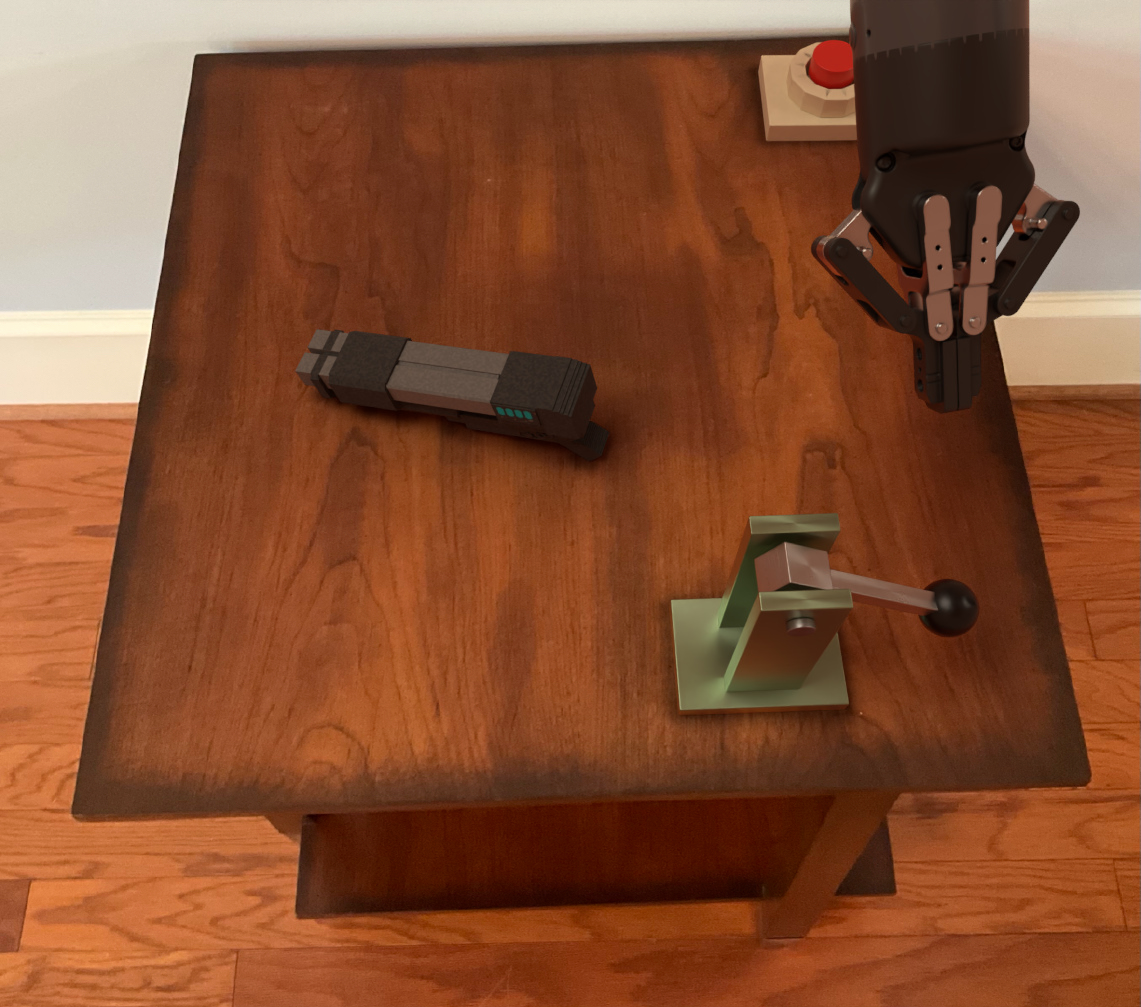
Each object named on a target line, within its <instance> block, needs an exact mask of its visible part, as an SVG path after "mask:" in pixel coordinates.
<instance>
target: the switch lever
mask: <svg viewBox="0 0 1141 1007" xmlns="http://www.w3.org/2000/svg"><path fill="white" fill-rule="evenodd" d="M755 569H756V577H757V585H758V592H768V591H796V590H824V589H850V590H851V595H852V601H853V603H859V604H863V605H869V606H872V607H873V606H874V607H877V608H878V607H879V608H883V609H888V610H892V611H897V612H902V613H907V614H911V615H912V614H913V615H917V616H918V619H919V621H920V623H921V624H922V626H923V627H924V628H925V629H926V630H928V631H929V632H930V633H932V634H933V635H936V636H938V637H941V638H942V637H943V638H957V637H960V636H962V635H965V634H966V633H968V632H969V631H970V630H971V629H972V628H973V627H974V626H975V624H976V623H977V621H978V618H979V615H980V604H979V599H978V597H977V596H976V594H975V591H973V589H972V588H970V586H969V585H967V584H966V583H964V582H962V581H960V580H957V579H953V578H941V579H936V580H933V581H932V582H930V583H929V584H928V585H926V586H925V587H924V588H923V589H922V588H919V587H913V586H908V585H906V584H905V585H904V584H900V583H896V582H892V581H886V580H883V579H878V578H873V577H868V576H864V575H860V574H855V573H850V572H846V571H841V570H837V569H833V568H831V565H830V559H829V554H828V552H827V551H823V550H819V549H815V548H810V547H806V546H802V545H798V544H793V543H789V542H783V543H781V544H780V545H778V546H776V547H774V548H773V549H771V550H769V551H767V552H766V553H764V554H762V555H760V556H759V557H757V558H755Z"/></svg>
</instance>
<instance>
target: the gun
mask: <svg viewBox="0 0 1141 1007" xmlns="http://www.w3.org/2000/svg"><path fill="white" fill-rule="evenodd" d="M307 349H308V350H309V352H306V351H304V353H303V355H302V356H301V359H300V361H299V363H298V365H297V366H296V368H295V371H294V372H295V373H296V375H297V376H298V377H299V379H300V380H301V382H302V383H303V384H304V386H309V387H315V389H316V390H317V391H318V393H319V394H320V396H321V397H322V398H325V399H333V398H336V397H337V399H338V400H339V402H340V403H345V404H351V405H356V406H357V405H358V406H363V407H369V408H370V407H371V408H376V409H383V410H389V411H396V412H397V411H405V412H414V413H421V414H427V415H433V416H440V417H445V418H446V419H447V421H449V422H455V423H460V424H465V427H466V429H469V430H475V431H480V432H488V433H494V434H500V435H505V436H506V435H507V436H512V437H519V438H524V439H525V438H526V439H532V440H537V441H543V442H544V441H545V442H549V443H550V442H551V443H556V444H560V445H561V446H563V447H564V448H566V449H568V450H569V451H571V452H572V453H574V454H576V455H577V456H579V457H581V458H582V459H583V460H585V461H588V462H592V461H593V460H596V459H598V458H599V457H602V456H603V452H604V450H605V447H606V445H607V441H608V437H609V435H610V431H608V429H606V428H604V427H602V426H601V425H599V424H597V423H596V422H595V421H592V420H591V419H592V416H593V412H594V410H595V407H596V404H595V401H594V399H595V396H596V393H597V390H598V385H597V382H596V379H595V375H594V373H593V370H592V366H591V364H590V363H587V362H583V361H581V360H579V359H573V358H572V357H567V356H560V355H559V356H558V355H547V354H539V353H532V352H524V351H518V350H517V351H516V350H510V351H509V353H504V352H498V351H497V352H495V351H489V350H484V349H483V350H482V349H475V348H474V349H473V348H468V347H460V346H452V345H445V344H438V343H428V342H421V341H414V340H412V338H411V337H405V336H400V335H399V336H398V335H391V334H390V335H389V334H383V333H374V332H367V331H359V330H353V331H349V332H348V333H347V332H345V331H344V330H341V329H334V330H327V329H318V328H317V329H316V330H315V332H314V333H313V336H312V337H311V339H310V341H309V343H308V345H307Z"/></svg>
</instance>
